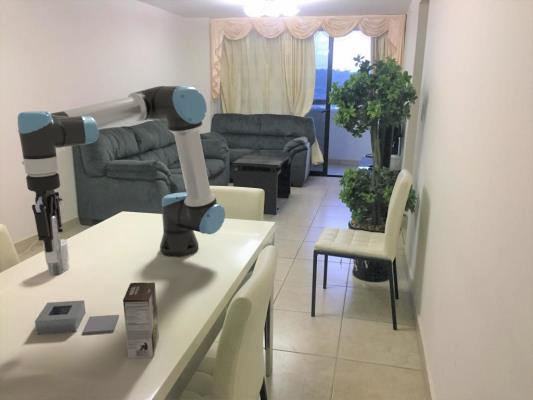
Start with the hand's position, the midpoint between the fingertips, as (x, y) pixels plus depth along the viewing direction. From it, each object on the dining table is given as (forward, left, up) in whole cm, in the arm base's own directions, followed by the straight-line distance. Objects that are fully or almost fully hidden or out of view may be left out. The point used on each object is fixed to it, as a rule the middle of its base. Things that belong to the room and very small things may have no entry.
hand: (54, 258), depth 116 cm
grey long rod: (0, 0, -4) cm, 4 cm away
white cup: (+12, -38, -19) cm, 44 cm away
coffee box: (-24, +15, -19) cm, 34 cm away
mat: (-11, +3, -19) cm, 22 cm away
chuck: (0, 0, -19) cm, 19 cm away
